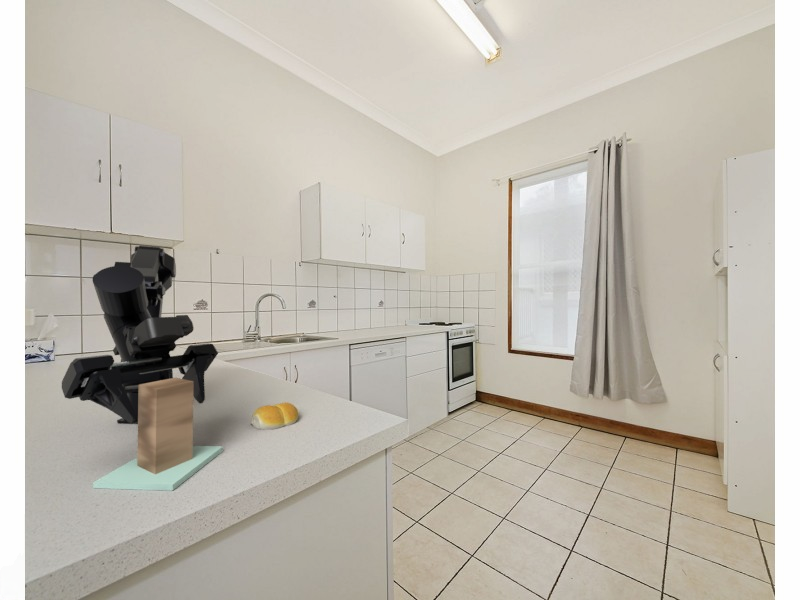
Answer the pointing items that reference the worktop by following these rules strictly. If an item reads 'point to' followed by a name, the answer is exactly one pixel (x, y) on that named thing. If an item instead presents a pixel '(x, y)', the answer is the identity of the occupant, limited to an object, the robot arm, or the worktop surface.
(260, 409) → the bread roll
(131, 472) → the green board
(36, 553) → the worktop surface
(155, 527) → the worktop surface
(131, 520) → the worktop surface
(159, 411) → the walnut block
